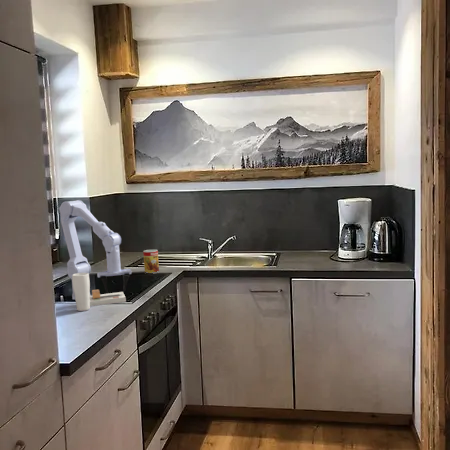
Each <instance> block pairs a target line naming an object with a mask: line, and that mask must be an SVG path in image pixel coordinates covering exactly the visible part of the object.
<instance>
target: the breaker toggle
mask: <svg viewBox="0 0 450 450" xmlns="http://www.w3.org/2000/svg"><path fill="white" fill-rule="evenodd" d="M100 294H101V293H100V289H92V290H91V296H92V297H93V299H94V298H100Z"/></svg>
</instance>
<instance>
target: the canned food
mask: <svg viewBox="0 0 450 450" xmlns="http://www.w3.org/2000/svg"><path fill="white" fill-rule="evenodd" d="M142 252H143V266H144V268H143V269H144V273H145V272H148V273H152V272H157V271H159V272H160V266H159V265H160V264H159V251H158V249H146V250H145V249H144V250H143V251H142Z"/></svg>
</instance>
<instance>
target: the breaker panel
mask: <svg viewBox="0 0 450 450" xmlns="http://www.w3.org/2000/svg"><path fill="white" fill-rule="evenodd" d="M117 303H118V304H119V303H127V298H126V296H125V294H124V291H119V292H112V293H111V292H110V293H109V292H108V293H104V294H101V293H100V298H94V299H93V297H92V295H91V296H90V307H95V306H102V305H109V304H110V305H111V304H117Z"/></svg>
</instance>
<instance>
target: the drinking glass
mask: <svg viewBox="0 0 450 450" xmlns="http://www.w3.org/2000/svg"><path fill="white" fill-rule="evenodd" d="M72 281H73V289H74V294H75V299H74V300H75V306H76V311H78V312H86V311H89V310H90V309H91V306H90V295H91V292H90V291H91V288H90V287H91V282H90V274H89V273H76V274H73V275H72V279H71V282H72ZM73 289H72V290H73Z"/></svg>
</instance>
